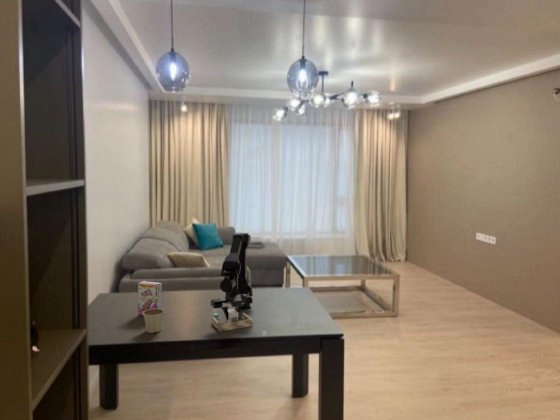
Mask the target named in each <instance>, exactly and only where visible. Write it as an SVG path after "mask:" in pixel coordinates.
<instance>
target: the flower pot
mask: <svg viewBox="0 0 560 420" xmlns="http://www.w3.org/2000/svg"><path fill="white" fill-rule="evenodd" d="M164 313H165V310H164V309H163V308H162V309H149V310H145V311H143V313H142V314H143V318H144V323H145V331H146V332H147V333H150V334H154V333H159V332H160V331H162V324H163V316H164Z"/></svg>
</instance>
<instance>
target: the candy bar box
mask: <svg viewBox="0 0 560 420" xmlns="http://www.w3.org/2000/svg"><path fill="white" fill-rule="evenodd" d="M162 283H163V282H162ZM162 283H161V282H155V281H147V280H143V281H140V282H138V283H137V301H138V302H137V304H138V305H137V308H138V309H137V310H138V316H143V314H142V313H143V311H145V310H149V309H163V284H162ZM143 317H144V316H143Z"/></svg>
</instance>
